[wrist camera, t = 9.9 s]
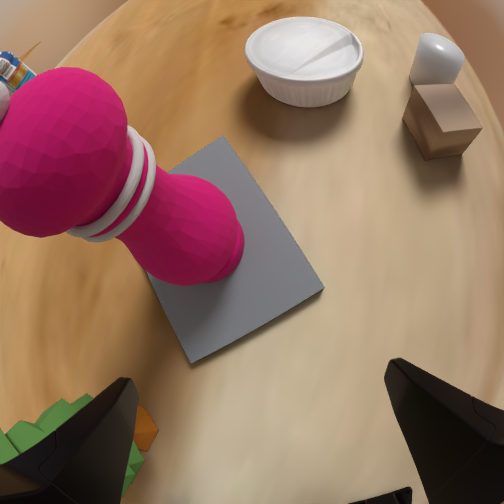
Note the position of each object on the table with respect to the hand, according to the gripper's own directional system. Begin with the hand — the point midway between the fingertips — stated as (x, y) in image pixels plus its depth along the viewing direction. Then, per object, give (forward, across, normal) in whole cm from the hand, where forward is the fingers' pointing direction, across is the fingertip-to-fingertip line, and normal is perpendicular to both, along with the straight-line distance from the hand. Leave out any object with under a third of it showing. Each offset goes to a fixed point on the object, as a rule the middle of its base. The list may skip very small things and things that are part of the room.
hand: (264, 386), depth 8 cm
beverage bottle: (+44, +44, -28) cm, 68 cm away
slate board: (+16, +3, 0) cm, 16 cm away
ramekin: (+23, -7, -16) cm, 29 cm away
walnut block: (+16, -18, -10) cm, 26 cm away
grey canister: (+19, -21, -17) cm, 33 cm away
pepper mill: (+15, +3, 0) cm, 16 cm away
